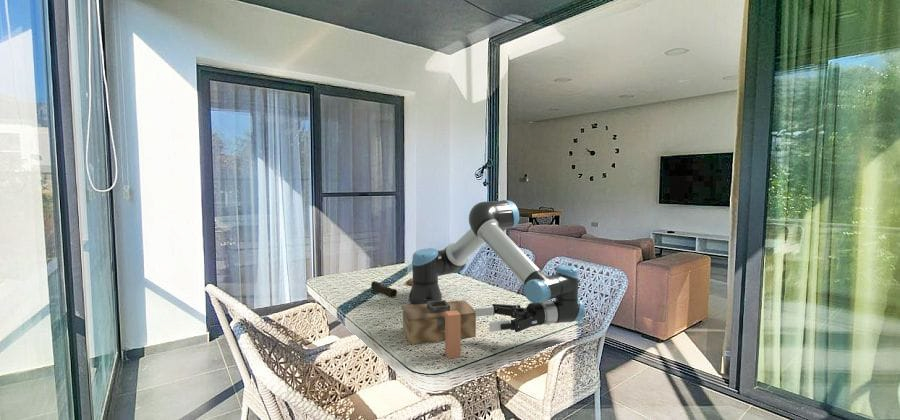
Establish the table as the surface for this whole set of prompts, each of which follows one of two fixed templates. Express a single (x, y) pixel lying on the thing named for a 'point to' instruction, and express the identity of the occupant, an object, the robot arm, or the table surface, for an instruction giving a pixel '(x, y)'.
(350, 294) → the table surface
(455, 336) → the wooden peg
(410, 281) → the cookie
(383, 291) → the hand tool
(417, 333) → the wooden socket base
